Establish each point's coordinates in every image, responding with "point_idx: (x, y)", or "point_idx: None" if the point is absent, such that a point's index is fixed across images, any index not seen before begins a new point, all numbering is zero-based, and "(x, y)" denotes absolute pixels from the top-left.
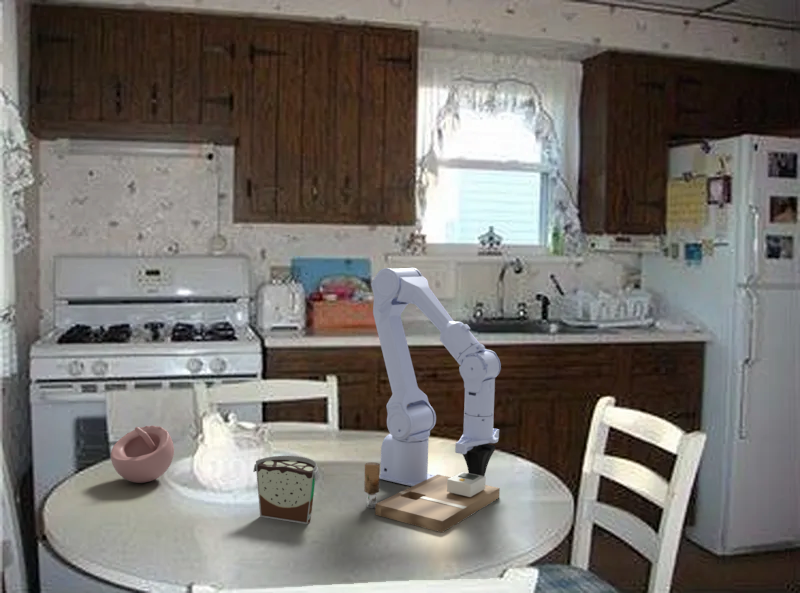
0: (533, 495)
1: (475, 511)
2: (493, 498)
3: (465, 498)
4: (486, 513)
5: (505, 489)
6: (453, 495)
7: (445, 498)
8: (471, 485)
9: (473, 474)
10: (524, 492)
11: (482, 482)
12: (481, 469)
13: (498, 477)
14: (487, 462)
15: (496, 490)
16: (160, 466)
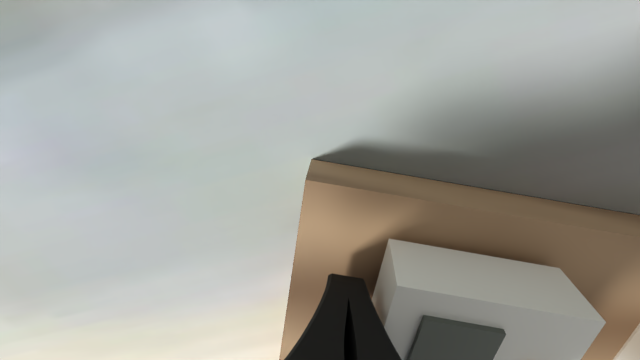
0: (166, 4)
1: (561, 203)
2: (374, 176)
3: None
4: (556, 154)
5: (173, 166)
6: None
7: None
8: (588, 312)
9: None
10: (153, 67)
11: (431, 273)
12: (391, 343)
13: (47, 233)
14: (314, 354)
15: (342, 184)
16: None
